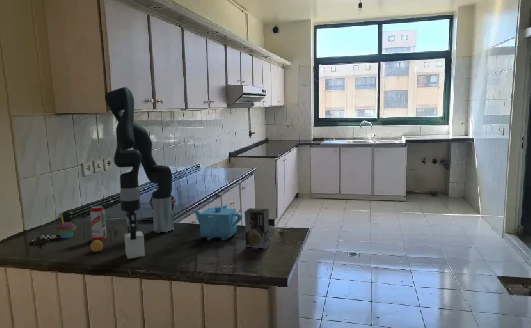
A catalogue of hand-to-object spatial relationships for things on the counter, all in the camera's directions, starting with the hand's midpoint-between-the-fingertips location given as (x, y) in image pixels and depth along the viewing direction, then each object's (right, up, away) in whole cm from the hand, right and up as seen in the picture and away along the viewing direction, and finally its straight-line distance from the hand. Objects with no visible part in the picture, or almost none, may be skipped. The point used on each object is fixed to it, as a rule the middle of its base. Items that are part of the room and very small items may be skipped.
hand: (132, 236), depth 165 cm
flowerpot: (-4, -1, +65) cm, 65 cm away
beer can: (-23, -6, +24) cm, 34 cm away
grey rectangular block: (+1, -8, +1) cm, 8 cm away
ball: (-17, -5, +6) cm, 19 cm away
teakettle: (+33, -5, +23) cm, 40 cm away
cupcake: (-42, -6, +30) cm, 52 cm away
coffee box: (+52, -6, +8) cm, 53 cm away
